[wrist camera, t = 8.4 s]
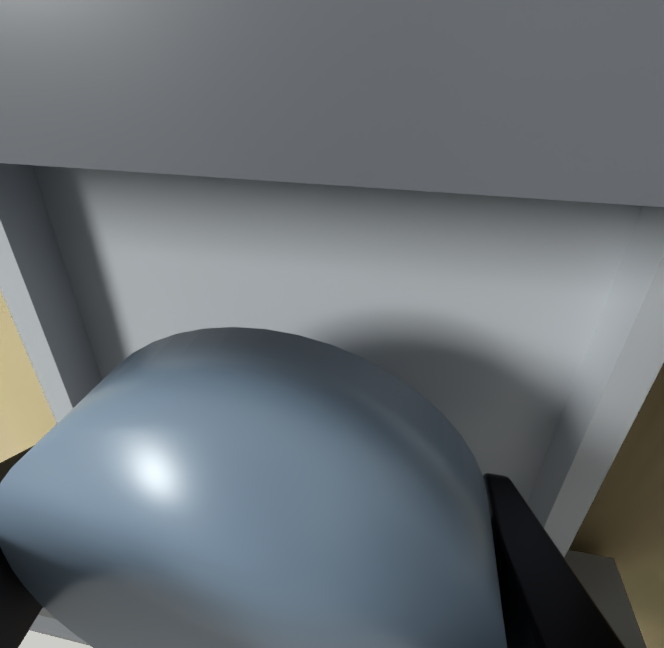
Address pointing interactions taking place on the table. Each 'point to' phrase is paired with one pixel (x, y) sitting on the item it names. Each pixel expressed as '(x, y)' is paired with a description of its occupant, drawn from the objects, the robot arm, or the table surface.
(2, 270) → the tray
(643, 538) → the table surface
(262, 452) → the disc
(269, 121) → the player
